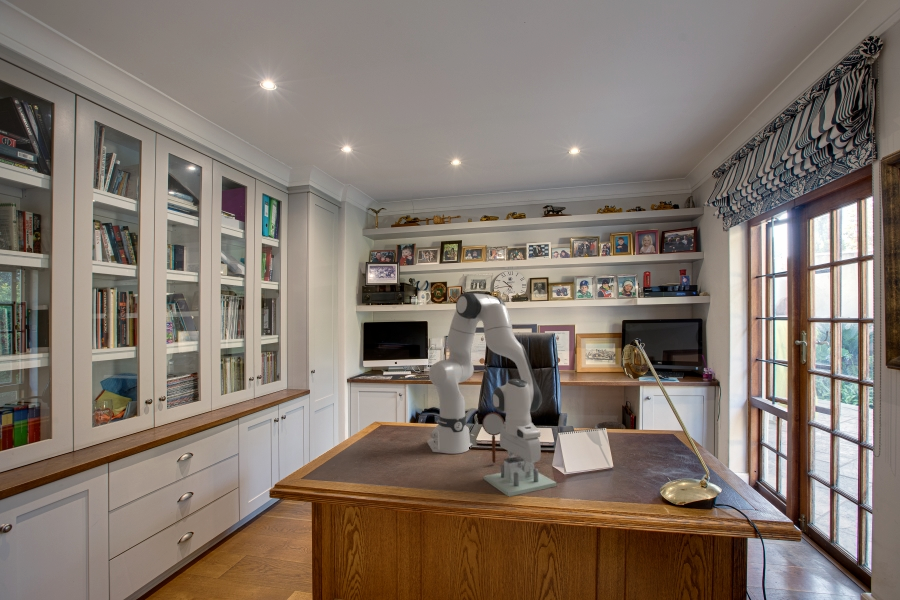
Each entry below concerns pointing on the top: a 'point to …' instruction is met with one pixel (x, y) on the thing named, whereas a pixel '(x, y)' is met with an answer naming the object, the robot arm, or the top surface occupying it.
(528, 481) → the pin tray
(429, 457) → the top surface
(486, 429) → the magnifying glass
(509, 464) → the block
